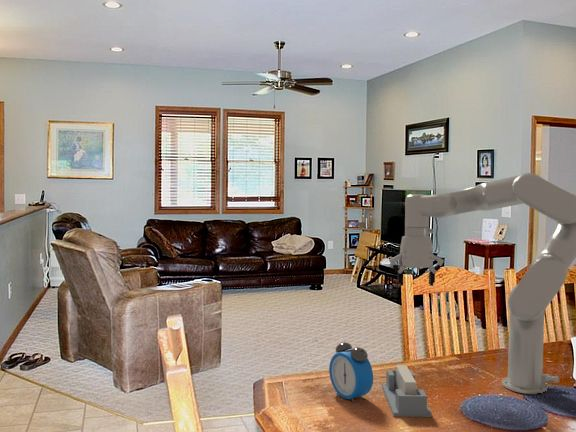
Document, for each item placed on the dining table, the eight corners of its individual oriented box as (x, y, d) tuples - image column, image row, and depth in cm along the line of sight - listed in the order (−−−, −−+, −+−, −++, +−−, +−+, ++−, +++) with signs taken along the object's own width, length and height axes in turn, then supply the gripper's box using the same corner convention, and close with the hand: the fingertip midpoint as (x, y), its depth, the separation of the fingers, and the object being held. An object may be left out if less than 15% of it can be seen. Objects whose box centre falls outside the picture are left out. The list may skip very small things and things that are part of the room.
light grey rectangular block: (405, 388, 162) (406, 365, 162) (415, 407, 148) (416, 382, 148) (395, 388, 162) (396, 365, 162) (404, 407, 148) (404, 382, 148)
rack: (415, 387, 165) (415, 369, 165) (431, 416, 145) (432, 396, 144) (382, 387, 166) (382, 369, 165) (393, 416, 145) (393, 396, 145)
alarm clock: (328, 391, 162) (328, 341, 161) (344, 387, 166) (344, 338, 165) (357, 406, 151) (358, 352, 150) (374, 401, 155) (374, 349, 154)
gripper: (440, 231, 181) (439, 283, 182) (387, 231, 182) (387, 283, 183) (446, 233, 174) (446, 287, 175) (392, 233, 174) (391, 287, 175)
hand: (416, 285), depth 179 cm, fingers open, 9 cm apart
